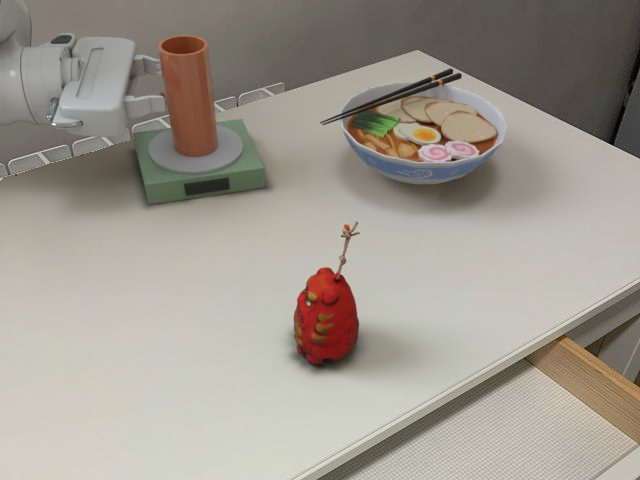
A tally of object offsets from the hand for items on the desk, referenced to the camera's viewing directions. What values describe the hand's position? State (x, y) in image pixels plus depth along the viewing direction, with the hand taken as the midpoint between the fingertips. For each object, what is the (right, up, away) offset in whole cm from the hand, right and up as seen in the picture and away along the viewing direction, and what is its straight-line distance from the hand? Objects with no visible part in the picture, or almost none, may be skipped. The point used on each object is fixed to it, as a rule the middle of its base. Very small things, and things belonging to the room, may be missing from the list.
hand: (168, 84), depth 85 cm
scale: (+2, -7, +10) cm, 12 cm away
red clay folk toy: (+20, -35, -12) cm, 42 cm away
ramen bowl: (+33, -7, +11) cm, 36 cm away
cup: (+2, -5, +7) cm, 9 cm away
